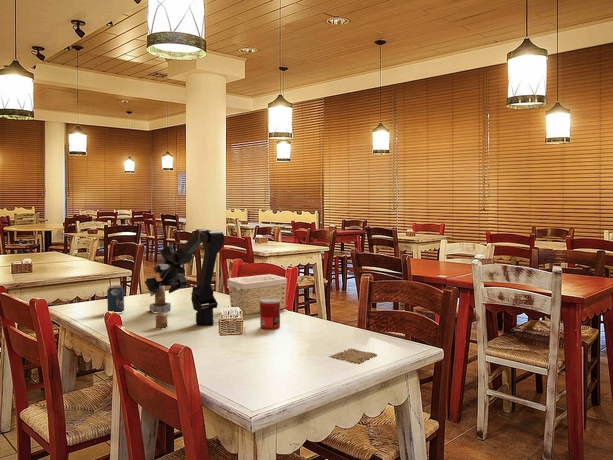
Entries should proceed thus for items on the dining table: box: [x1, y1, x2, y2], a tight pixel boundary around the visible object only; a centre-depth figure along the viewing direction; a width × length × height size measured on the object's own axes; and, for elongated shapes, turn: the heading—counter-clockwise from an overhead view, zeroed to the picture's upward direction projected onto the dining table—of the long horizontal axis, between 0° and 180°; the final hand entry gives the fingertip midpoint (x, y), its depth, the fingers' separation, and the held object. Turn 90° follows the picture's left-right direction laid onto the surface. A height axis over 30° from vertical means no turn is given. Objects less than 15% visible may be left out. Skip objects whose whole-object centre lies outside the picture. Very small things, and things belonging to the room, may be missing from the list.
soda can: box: [106, 284, 125, 312], centre depth 235 cm, size 7×7×12 cm
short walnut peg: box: [155, 313, 168, 329], centre depth 209 cm, size 4×4×5 cm
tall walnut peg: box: [154, 286, 166, 306], centre depth 239 cm, size 4×4×12 cm
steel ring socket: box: [149, 301, 172, 313], centre depth 240 cm, size 9×9×3 cm
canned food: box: [259, 298, 281, 331], centre depth 210 cm, size 8×8×11 cm
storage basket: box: [226, 273, 288, 315], centre depth 243 cm, size 24×16×15 cm
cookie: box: [328, 348, 378, 365], centre depth 173 cm, size 12×12×1 cm
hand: (160, 294), depth 239 cm, fingers open, 9 cm apart
